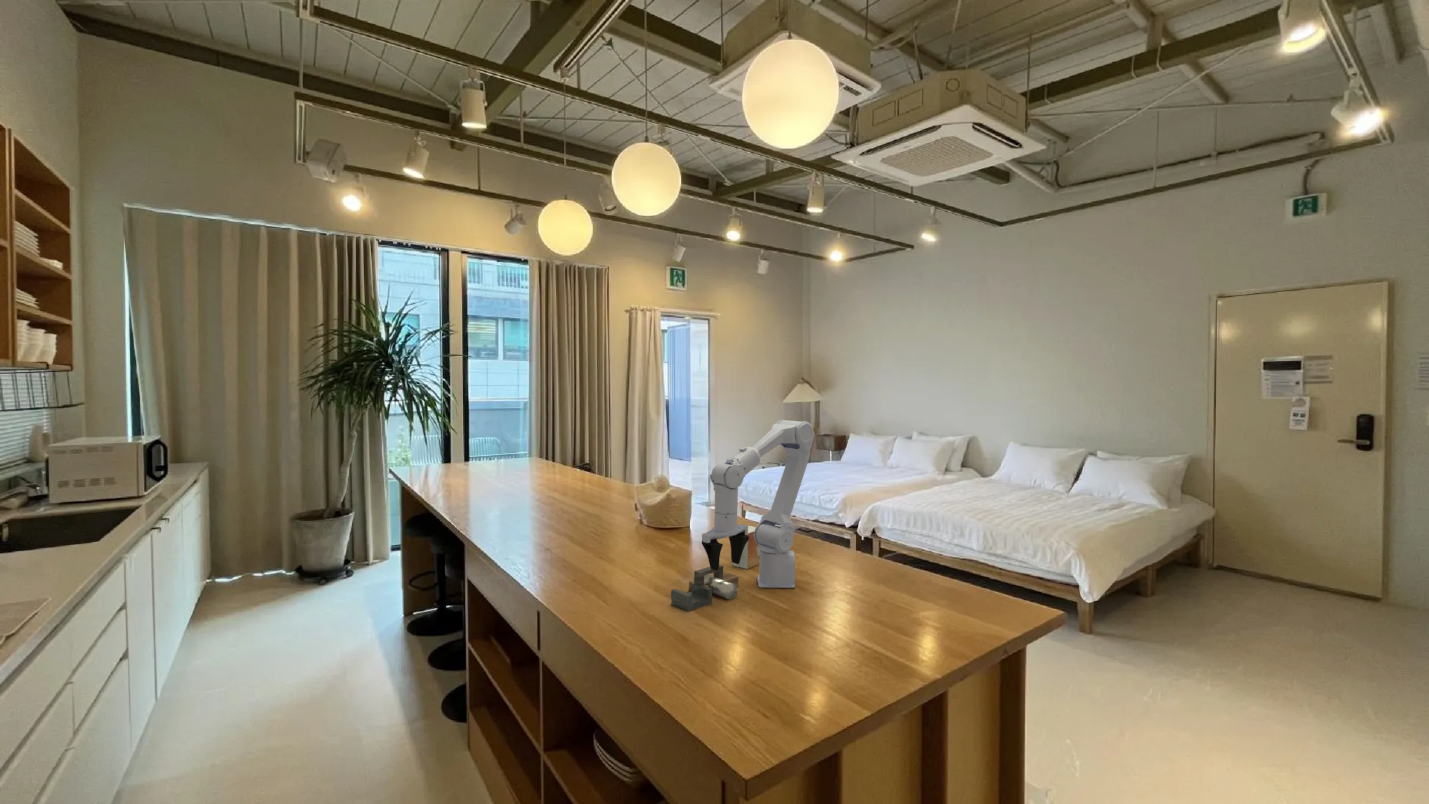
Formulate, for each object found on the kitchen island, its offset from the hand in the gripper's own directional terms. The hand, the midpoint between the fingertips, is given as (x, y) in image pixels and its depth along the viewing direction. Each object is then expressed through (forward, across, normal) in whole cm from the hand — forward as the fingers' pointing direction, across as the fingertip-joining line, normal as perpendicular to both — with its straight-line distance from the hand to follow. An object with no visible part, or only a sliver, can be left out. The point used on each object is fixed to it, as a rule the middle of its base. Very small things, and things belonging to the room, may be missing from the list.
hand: (725, 566), depth 148 cm
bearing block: (+8, -2, -6) cm, 10 cm away
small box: (+8, -23, -14) cm, 28 cm away
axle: (+8, 0, -4) cm, 9 cm away
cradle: (+8, +9, -2) cm, 12 cm away
